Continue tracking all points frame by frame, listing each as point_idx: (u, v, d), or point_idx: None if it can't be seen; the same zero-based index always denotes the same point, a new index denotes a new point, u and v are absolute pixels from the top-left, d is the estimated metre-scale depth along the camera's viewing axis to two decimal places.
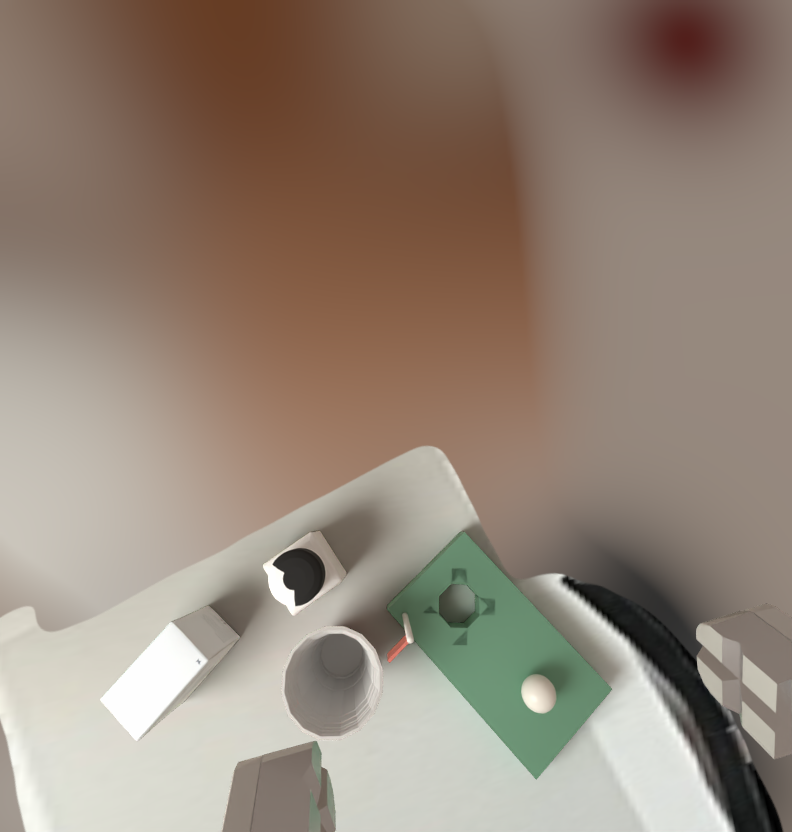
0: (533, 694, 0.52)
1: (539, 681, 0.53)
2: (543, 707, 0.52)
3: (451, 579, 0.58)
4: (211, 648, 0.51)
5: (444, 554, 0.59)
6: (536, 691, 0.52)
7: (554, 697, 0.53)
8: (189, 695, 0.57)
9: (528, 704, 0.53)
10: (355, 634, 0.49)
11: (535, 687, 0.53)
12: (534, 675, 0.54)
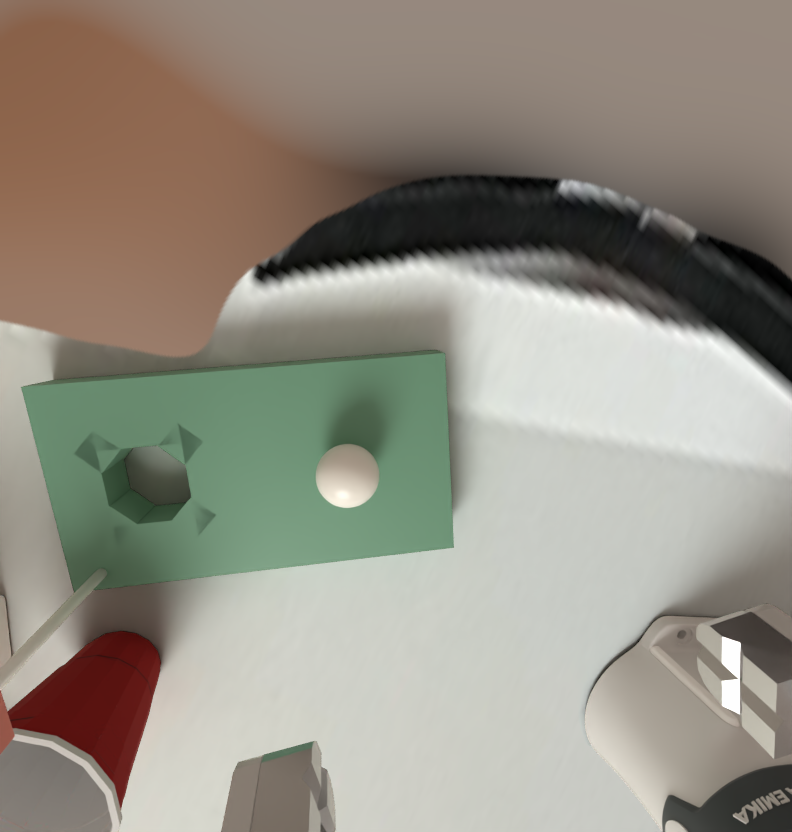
0: (330, 494, 0.27)
1: (324, 468, 0.27)
2: (357, 494, 0.27)
3: (94, 467, 0.29)
4: None
5: (40, 449, 0.28)
6: (329, 487, 0.27)
7: (361, 465, 0.27)
8: None
9: (343, 507, 0.28)
10: None
11: (324, 483, 0.27)
12: (319, 462, 0.28)
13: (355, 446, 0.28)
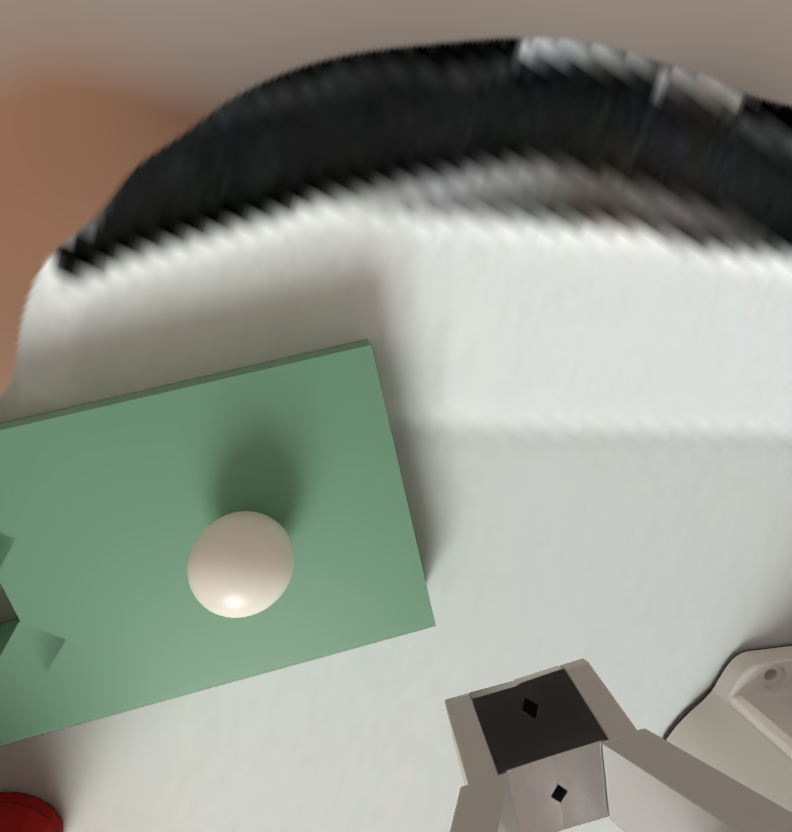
0: (208, 606, 0.16)
1: (192, 565, 0.16)
2: (252, 600, 0.16)
3: None
4: None
5: None
6: (203, 596, 0.16)
7: (251, 552, 0.16)
8: None
9: None
10: None
11: (196, 589, 0.16)
12: None
13: (244, 517, 0.17)
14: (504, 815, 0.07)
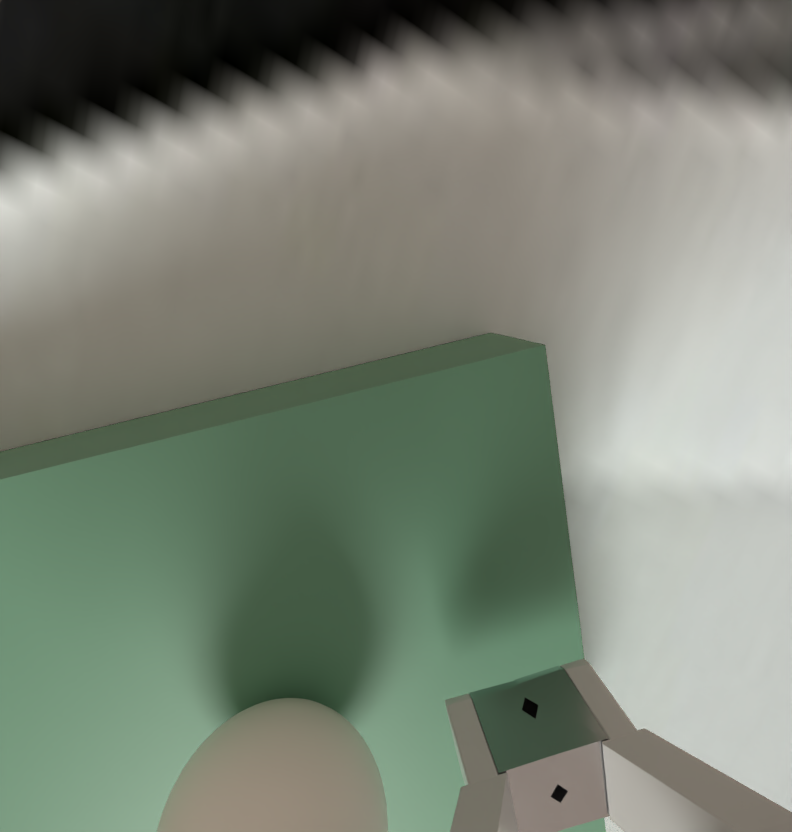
0: None
1: None
2: None
3: None
4: None
5: None
6: None
7: None
8: None
9: None
10: None
11: None
12: (162, 816, 0.08)
13: (282, 745, 0.08)
14: (504, 815, 0.07)
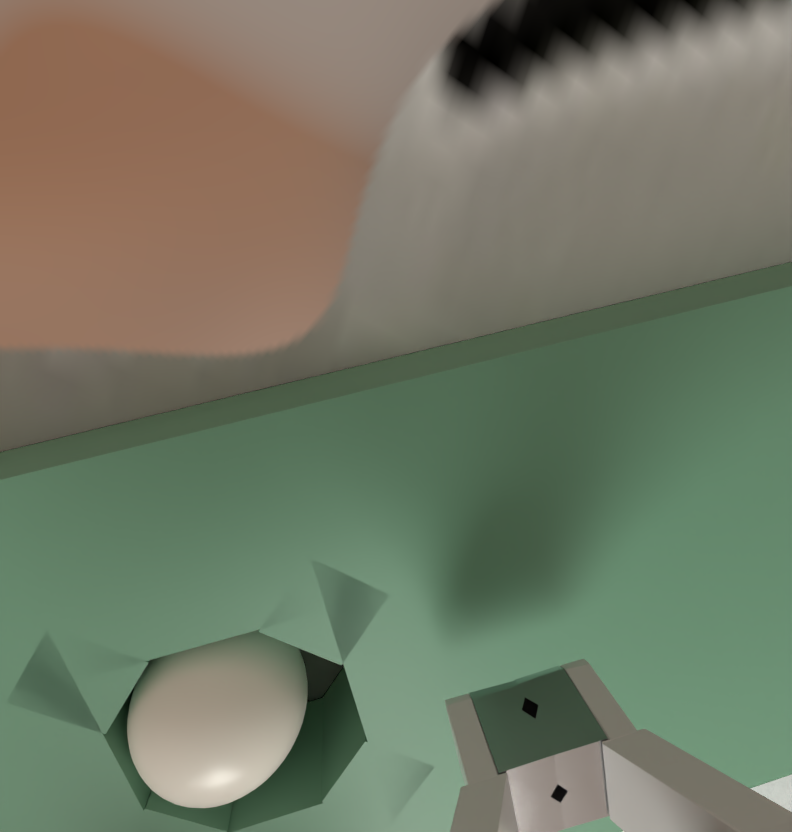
0: None
1: None
2: None
3: (78, 725, 0.09)
4: None
5: None
6: None
7: (137, 727, 0.09)
8: None
9: None
10: None
11: None
12: None
13: (191, 657, 0.10)
14: (504, 815, 0.07)
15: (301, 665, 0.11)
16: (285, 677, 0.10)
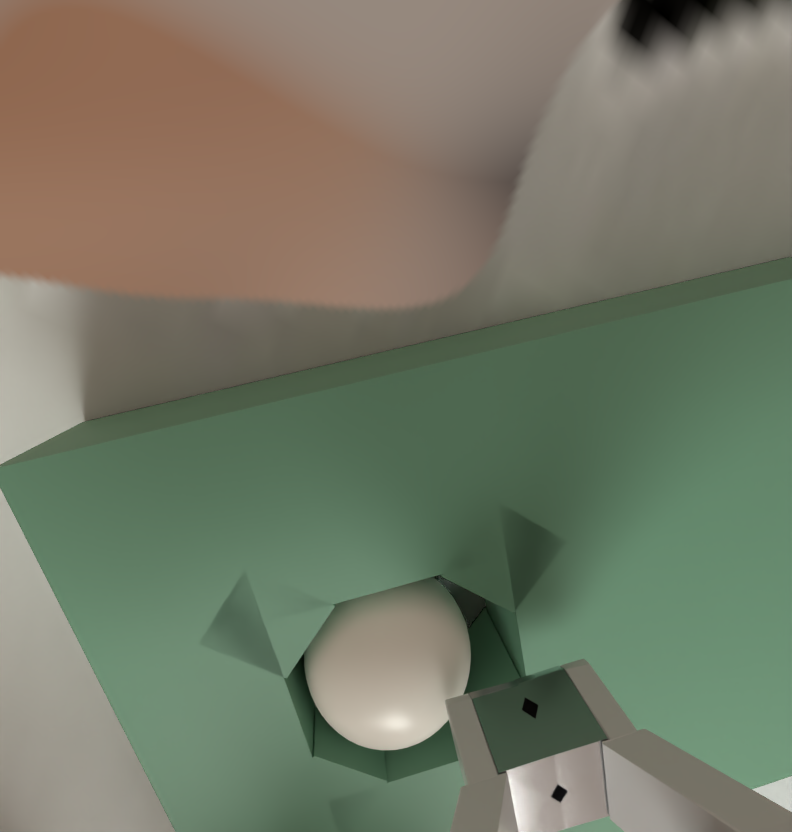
0: None
1: None
2: (330, 725, 0.10)
3: (262, 668, 0.09)
4: None
5: (94, 649, 0.09)
6: None
7: (335, 670, 0.09)
8: None
9: None
10: None
11: None
12: None
13: (378, 601, 0.10)
14: (504, 815, 0.07)
15: None
16: (459, 619, 0.10)
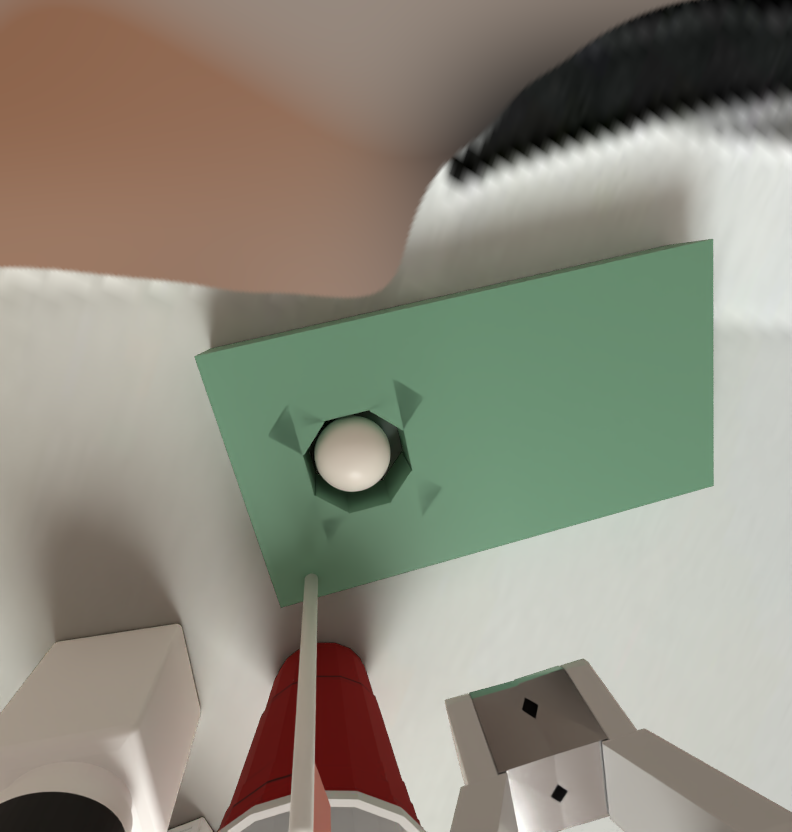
0: None
1: None
2: (328, 479, 0.23)
3: (293, 450, 0.22)
4: None
5: (226, 435, 0.22)
6: None
7: (331, 448, 0.22)
8: None
9: None
10: (242, 827, 0.17)
11: None
12: None
13: (348, 422, 0.23)
14: (504, 815, 0.07)
15: None
16: (384, 435, 0.24)
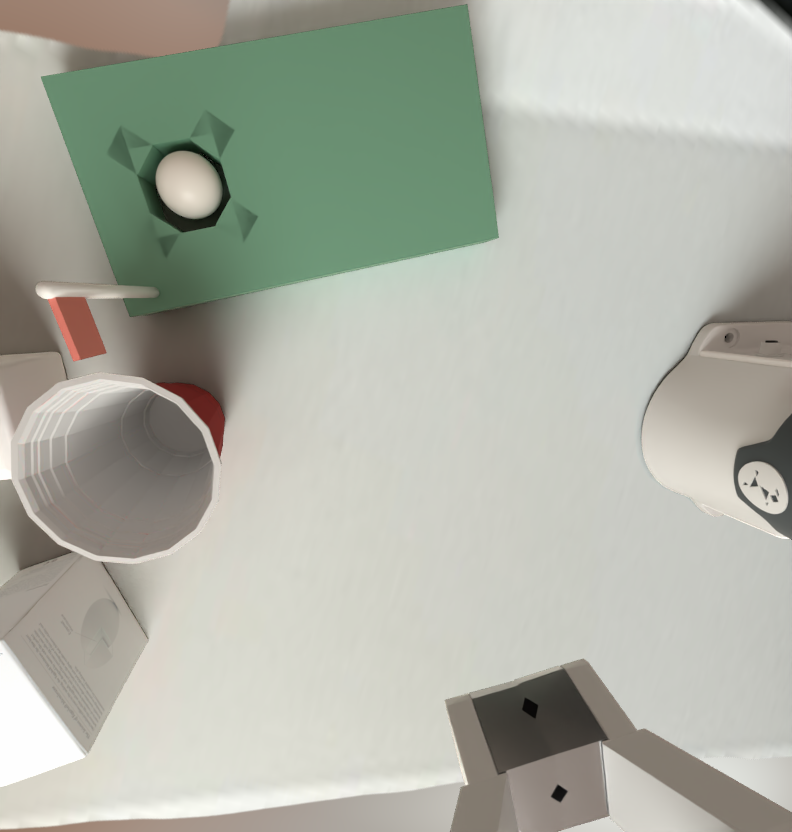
0: None
1: None
2: (166, 194, 0.28)
3: (128, 169, 0.28)
4: (12, 617, 0.29)
5: (71, 150, 0.27)
6: None
7: (165, 164, 0.28)
8: (141, 631, 0.39)
9: (183, 216, 0.30)
10: (53, 394, 0.23)
11: None
12: None
13: None
14: (504, 815, 0.07)
15: None
16: (215, 169, 0.30)
